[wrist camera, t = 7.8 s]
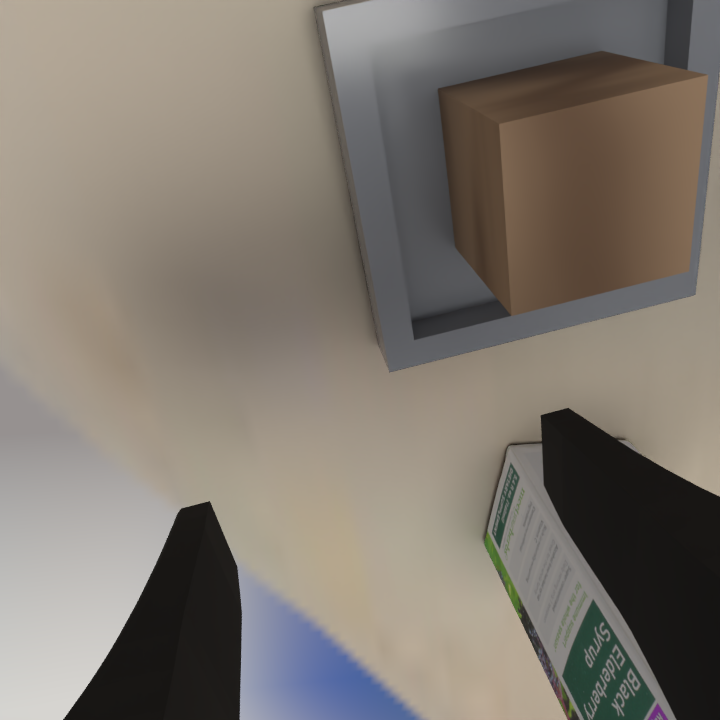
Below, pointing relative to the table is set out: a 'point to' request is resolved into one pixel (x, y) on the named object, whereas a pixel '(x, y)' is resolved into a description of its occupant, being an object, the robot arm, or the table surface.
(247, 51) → the table surface
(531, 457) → the syrup box
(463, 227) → the walnut cube
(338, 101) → the grey dish
